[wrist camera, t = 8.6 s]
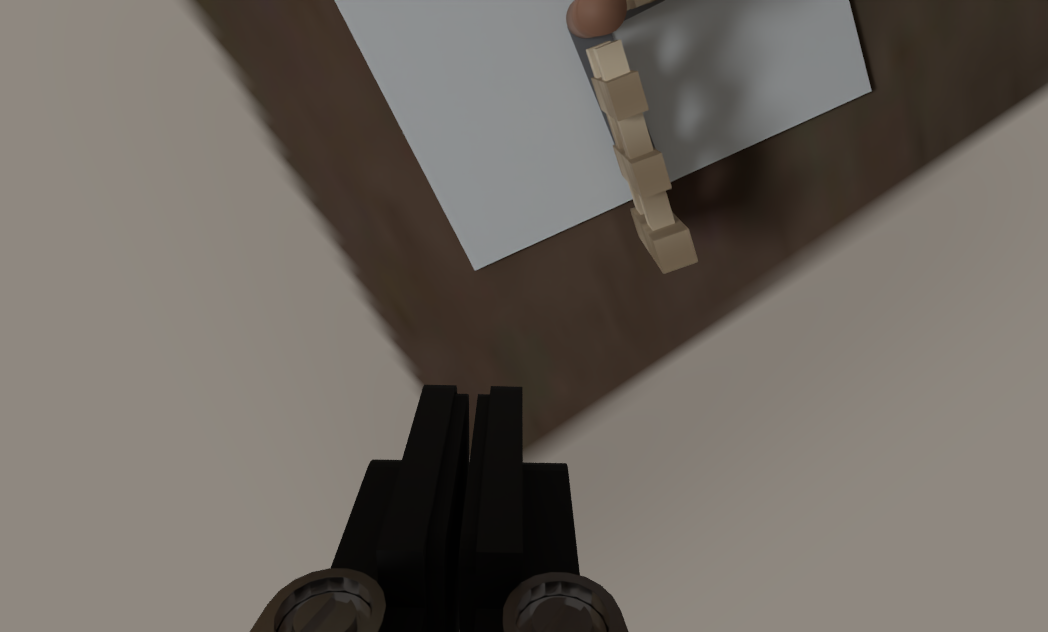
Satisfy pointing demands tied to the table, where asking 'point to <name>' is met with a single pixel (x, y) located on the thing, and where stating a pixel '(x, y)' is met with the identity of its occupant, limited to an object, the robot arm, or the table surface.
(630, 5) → the fence fixed
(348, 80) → the table surface
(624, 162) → the beige stepped wooden piece
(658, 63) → the card
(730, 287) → the table surface
